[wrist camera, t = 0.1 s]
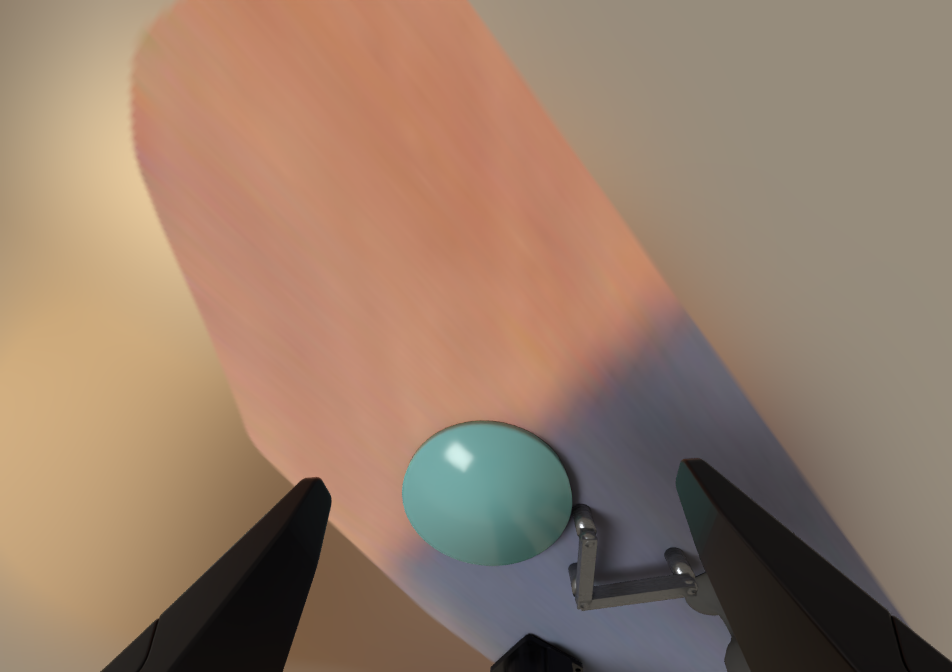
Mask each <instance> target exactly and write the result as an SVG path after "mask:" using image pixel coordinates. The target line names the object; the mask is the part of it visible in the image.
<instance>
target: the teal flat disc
mask: <svg viewBox="0 0 952 672" xmlns="http://www.w3.org/2000/svg"><path fill="white" fill-rule="evenodd" d="M402 498H403V505H404V509H405V512H406V514H407V517H408V519H409V521H410V523H411V524H412V526H413V528H414V529H415V530H416V532H417V533H418V534H419V535H420V536H421V537H422V538H423V539H424V540H425V541H426V542H427V543H428V544H430V545H431V546H432V547H433V548H435V549H436V550H438V551H440V552H441V553H443V554H445V555H447V556H449V557H451V558H454V559H457V560H459V561H463V562H467V563H470V564H477V565H486V566H499V565H508V564H513V563H518V562H521V561H524V560H527V559H530V558H532V557H534V556H536V555H538V554H540V553H541V552H543V551H544V550H546V549H547V548H548V547H550V546H551V545H552V544H553V543H554V542H555V541H556V540H557V539H558V538H559V536H560V535H561V534H562V532H563V531H564V529H565V528H566V525H567V523H568V521H569V518H570V514H571V509H572V492H571V488H570V484H569V480H568V476H567V473H566V470H565V468H564V465H563V464H562V462H561V460H560V459H559V457H558V456H557V455H556V453H555V452H554V451H553V450H552V448H550V447H549V446H548V445H547V444H546V443H545V442H544V441H543V440H541V439H540V438H538V437H537V436H536V435H534V434H532V433H530V432H528V431H526V430H524V429H522V428H519V427H517V426H514V425H510V424H507V423H503V422H496V421H469V422H464V423H459V424H456V425H453V426H450V427H447V428H445V429H443V430H441V431H439V432H437V433H436V434H434V435H433V436H431V437H430V438H429V439H427V440H426V441H425V442H424V443H423V444H422V445H421V446H420V447H419V449H418V450H417V451H416V452H415V454H414V456H413V457H412V459H411V461H410V464H409V466H408V469H407V471H406V474H405V477H404V481H403V487H402Z"/></svg>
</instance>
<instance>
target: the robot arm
mask: <svg viewBox="0 0 952 672" xmlns="http://www.w3.org/2000/svg"><path fill="white" fill-rule="evenodd" d="M676 488H677V492H678V495H679V498H680V501H681V504H682V507H683V510H684V513H685V516H686V519H687V522H688V525H689V528H690V531H691V534H692V537H693V540H694V543H695V546H696V549H697V551H698V554H699V557H700V559H701V562H702V564H703V567H704V569H705V571H706V573H707V576H708V578H709V580H710V582H711V584H712V587H713V589H714V591H715V593H716V596H717V598H718V600H719V602H720V604H721V607H722V609H723V611H724V613H725V616H726V618H727V620H728V622H729V624H730V627H731V629H732V631H733V633H734V636H735V638H736V640H737V642H738V644H739V647H740V649H741V651H742V653H743V655H744V658H745V660H746V662H747V664H748V667H749V669H750V671H751V672H952V662H951V661H950V660H949V659H948V658H946V657H945V656H944V655H943V654H941V653H940V652H939V651H938V650H936V649H935V648H934V647H933V646H931V645H930V644H929V643H927V642H926V641H925V640H924V639H922V638H921V637H920V636H919V635H917V634H916V633H915V632H914V631H913V630H911V629H910V628H909V627H908V626H907V625H905V624H904V623H903V622H902V621H900V620H899V619H898V618H897V617H895V616H891V615H890V612H889V611H888V610H887V609H885V608H884V607H883V606H882V605H881V604H879V603H878V602H877V601H876V600H874V599H873V598H872V597H871V596H870V595H868V594H867V593H866V592H865V591H863V590H862V589H861V588H860V587H859V586H857V585H856V584H855V583H854V582H852V581H851V580H850V579H849V578H848V577H846V576H845V575H844V574H843V573H841V572H840V571H839V570H838V569H836V568H835V567H834V566H833V565H832V564H830V563H829V562H828V561H827V560H825V559H824V558H823V557H822V556H821V555H819V554H818V553H817V552H816V551H814V550H813V549H812V548H811V547H810V546H808V545H807V544H806V543H805V542H803V541H802V540H801V539H800V538H799V537H797V536H796V535H795V534H794V533H792V532H791V531H790V530H789V529H788V528H786V527H785V526H784V525H783V524H781V523H780V522H779V521H778V520H776V519H775V518H774V517H773V516H772V515H770V514H769V513H768V512H767V511H765V510H764V509H763V508H762V507H761V506H759V505H758V504H757V503H756V502H754V501H753V500H752V499H751V498H750V497H748V496H747V495H746V494H745V493H743V492H742V491H741V490H740V489H739V488H737V487H736V486H735V485H734V484H732V483H731V482H730V481H729V480H727V479H726V478H725V477H724V476H723V475H721V474H720V473H719V472H718V471H716V470H715V469H714V468H713V467H712V466H710V465H709V464H708V463H707V462H705V461H704V460H702V459H700V458H691V459H683V460H682V461H681V463H680V466H679V470H678V474H677V477H676ZM331 502H332V500H331V495H330V493H329V491H328V489H327V488H326V486H325V484H324V483H323V481H322V479H321V478H319V477H312V478H304V479H303V480H301V481H300V482H299V483H298V484H297V485H296V486H295V487H294V488H293V489H292V490H290V491H289V492H288V493H287V494H286V495H285V496H284V497H283V498H282V499H281V500H280V501H279V502H278V503H277V504H276V505H275V506H274V507H273V508H272V509H271V510H270V511H269V512H268V513H267V514H265V515H264V517H262V518H261V519H260V520H259V521H258V522H257V523H256V524H255V525H254V526H253V527H252V528H251V529H250V530H249V531H248V532H247V533H246V534H245V535H244V536H243V537H242V538H240V539H239V541H237V542H236V543H235V544H234V545H233V546H232V547H231V548H230V549H229V550H228V551H227V552H226V553H225V554H224V555H223V556H222V557H221V558H220V559H219V560H218V561H217V562H216V563H214V565H212V566H211V567H210V568H209V569H208V570H207V571H206V572H205V573H204V574H203V575H202V576H201V577H200V578H199V579H198V580H197V581H196V582H195V583H194V584H193V585H192V586H191V587H190V588H188V589H187V590H186V592H184V593H183V594H182V595H181V596H180V597H179V598H178V599H177V600H176V601H175V602H174V603H173V604H172V605H171V606H170V607H169V608H168V609H166V610H165V611H164V612H163V613H162V614H161V615H160V618H159V619H156V620H155V621H154V622H153V623H152V624H151V625H150V626H149V627H148V628H147V629H146V630H144V631H143V632H142V633H141V634H140V635H139V636H138V637H137V638H136V639H135V640H134V641H133V642H132V643H131V644H130V645H129V646H128V647H127V648H125V649H124V650H123V651H122V652H121V653H120V654H119V655H118V656H117V657H116V658H115V659H114V660H113V661H112V662H110V663H109V664H108V665H107V666H106V667H105V668H104V669H103V670H102V671H100V672H283V669H284V666H285V663H286V660H287V657H288V654H289V651H290V648H291V645H292V642H293V639H294V636H295V632H296V629H297V626H298V623H299V620H300V617H301V614H302V611H303V608H304V605H305V602H306V599H307V596H308V593H309V590H310V587H311V583H312V581H313V578H314V574H315V571H316V568H317V564H318V560H319V557H320V552H321V548H322V543H323V539H324V534H325V530H326V526H327V521H328V517H329V513H330V508H331ZM490 672H583V665H582V663H581V662H579V661H577V660H576V659H574V658H572V657H570V656H568V655H566V654H565V653H563V652H561V651H559V650H557V649H555V648H554V647H552V646H550V645H548V644H546V643H544V642H543V641H541V640H539V639H537V638H535V637H533V636H531V635H526V636H525V637H523V638H522V639H521V640H520V641H519V642H518V643H517V644H516V645H515V646H514V647H512V648H511V649H510V650H509V651H508V652H507V653H506V654H505V655H504V656H502V657H501V658H500V659H499V660H498V661H497V662H496V663H495V664H494V665H493V666H491V670H490Z"/></svg>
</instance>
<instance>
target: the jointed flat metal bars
mask: <svg viewBox="0 0 952 672" xmlns="http://www.w3.org/2000/svg"><path fill="white" fill-rule="evenodd" d="M572 514H573V518H574V522H575V527H576V531H577V535H578V536H579V549H578V563H573V564H571V565H570V566H569V568H568V570H569V576H570V581H571V587H572V592H573V595H574V597H575V601H576V604H577V609H582V611H585V610H593V609H600V608H608V607H616V606H623V605H631V604H638V603H646V602H653V601H661V600H668V599H676V598H684V597H691V596H697V591H698V584H697V582H696V580H695V575H694V573H693V571H692V569H691V567H690V566H689V564H688V562H687V560H686V558H685V556H684V554H683V553H682V551H681V550H680V549H678V548H670V549H668V550H667V551H666V552H665V554H664V556H665V558H666V560H667V563H668V565H669V567H670V569H671V571H672V573H673V575H669V576H662V577H655V578H648V579H641V580H634V581H627V582H620V583H613V584H606V585H599V586H593V582H594V571H595V561H596V550H597V536H596V528H595V525H594V521H593V518H592V515H591V511H590V508H589V507H588V506H587V505H584V504H578V505H576V506H574V507H573V509H572Z"/></svg>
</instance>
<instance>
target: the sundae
mask: <svg viewBox="0 0 952 672" xmlns="http://www.w3.org/2000/svg"><path fill="white" fill-rule="evenodd" d="M695 580H696V582H697V584H698V591H697V596H691V597H685V599H686V602H687V603H688V605H689V606H690V607H691V608H692V609H694V610H696V611H697V612H699V613H702V614H706V615H719V616H720V617H721V618H722V620H723V621H724V623H725V624H726V626H727V628H728V630H729V632H730V634H731V636H732V638H731V642H730V643H729V645H728V647H727V650H726V655H725V660H724V662H725V665H726V669H727V672H751V671H750V669H749V667H748V664H747V662H746V660H745V658H744V655H743V653H742V651H741V649H740V647H739V644H738V642H737V640H736V638H735V636H734V633H733V631H732V629H731V627H730V624H729V622H728V620H727V618H726V616H725V613H724V611H723V609H722V607H721V604H720V602H719V600H718V598H717V596H716V593H715V591H714V589H713V587H712V584H711V582H710V580H709V578H708V576H707V573H703V574H701V575H699V576H697V577H695Z"/></svg>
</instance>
